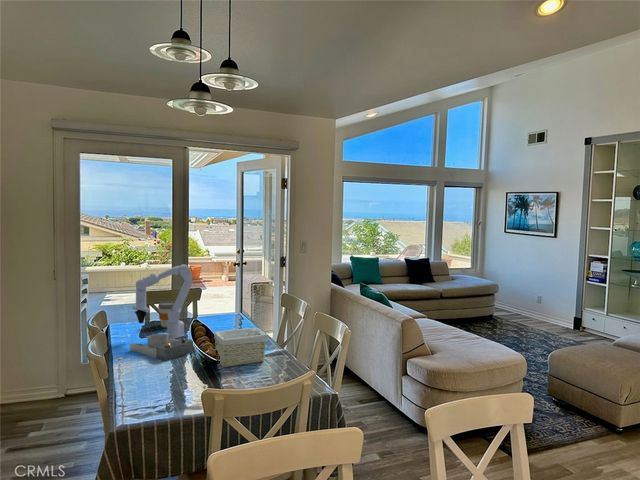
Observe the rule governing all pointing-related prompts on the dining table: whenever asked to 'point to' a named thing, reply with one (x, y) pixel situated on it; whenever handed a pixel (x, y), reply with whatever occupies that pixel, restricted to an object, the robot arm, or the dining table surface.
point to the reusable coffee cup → (164, 311)
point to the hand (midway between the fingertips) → (141, 322)
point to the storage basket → (240, 346)
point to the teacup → (158, 340)
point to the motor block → (165, 349)
